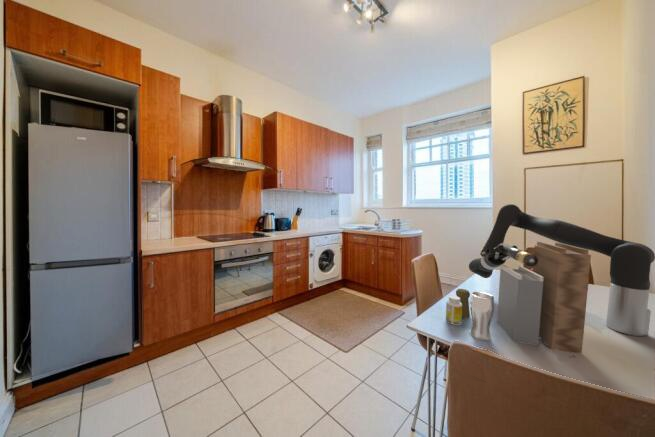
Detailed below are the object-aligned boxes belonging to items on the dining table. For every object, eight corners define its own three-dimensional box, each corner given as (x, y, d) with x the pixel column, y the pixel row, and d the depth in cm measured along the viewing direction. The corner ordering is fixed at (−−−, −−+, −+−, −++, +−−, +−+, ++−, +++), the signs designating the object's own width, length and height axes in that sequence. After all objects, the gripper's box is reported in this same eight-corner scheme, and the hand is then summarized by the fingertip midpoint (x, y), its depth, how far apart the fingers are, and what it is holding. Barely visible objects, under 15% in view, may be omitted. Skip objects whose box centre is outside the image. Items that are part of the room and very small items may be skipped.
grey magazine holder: (517, 324, 95) (521, 266, 93) (538, 345, 81) (543, 276, 80) (496, 322, 97) (500, 264, 95) (513, 341, 83) (518, 275, 82)
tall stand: (553, 330, 91) (560, 242, 88) (581, 353, 77) (591, 250, 75) (528, 327, 93) (534, 241, 90) (551, 349, 79) (560, 248, 77)
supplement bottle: (463, 322, 96) (464, 297, 96) (459, 327, 92) (460, 301, 92) (448, 317, 100) (449, 293, 99) (443, 322, 96) (444, 297, 95)
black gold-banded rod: (496, 252, 103) (497, 243, 102) (507, 253, 102) (508, 243, 101) (524, 266, 81) (525, 254, 80) (539, 267, 80) (540, 255, 79)
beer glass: (470, 328, 92) (473, 290, 91) (492, 335, 87) (495, 294, 86) (467, 336, 86) (469, 295, 85) (490, 343, 82) (493, 300, 81)
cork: (472, 319, 99) (473, 292, 98) (456, 317, 100) (457, 291, 100) (466, 312, 105) (468, 287, 104) (451, 311, 106) (453, 286, 105)
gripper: (474, 250, 114) (487, 237, 99) (509, 252, 111) (528, 239, 96) (476, 266, 111) (490, 255, 96) (511, 269, 108) (532, 257, 93)
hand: (509, 247), depth 96 cm, fingers closed on black gold-banded rod, 4 cm apart
